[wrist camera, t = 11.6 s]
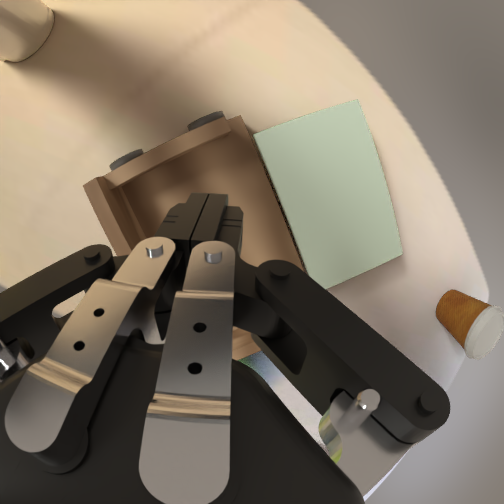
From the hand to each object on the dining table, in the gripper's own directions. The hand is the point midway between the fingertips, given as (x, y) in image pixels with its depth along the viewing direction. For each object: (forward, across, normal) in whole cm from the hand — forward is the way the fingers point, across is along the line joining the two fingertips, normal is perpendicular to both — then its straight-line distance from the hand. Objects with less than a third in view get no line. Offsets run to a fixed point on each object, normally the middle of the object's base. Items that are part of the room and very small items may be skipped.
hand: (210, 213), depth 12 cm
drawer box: (+18, +3, +14) cm, 23 cm away
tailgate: (+18, -5, +10) cm, 21 cm away
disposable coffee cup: (+22, -38, +26) cm, 51 cm away
